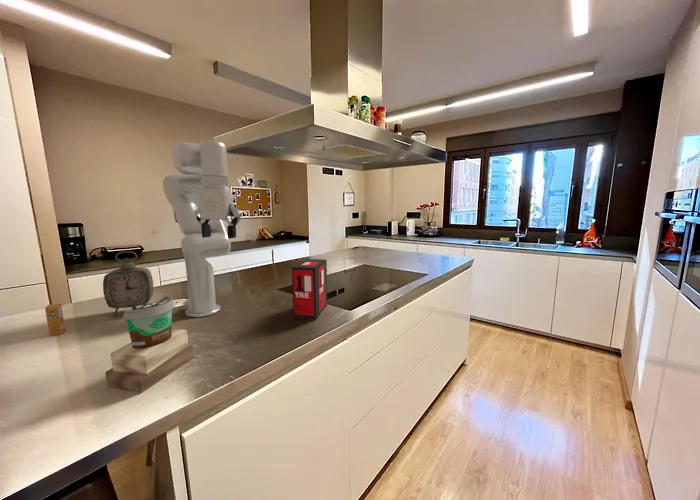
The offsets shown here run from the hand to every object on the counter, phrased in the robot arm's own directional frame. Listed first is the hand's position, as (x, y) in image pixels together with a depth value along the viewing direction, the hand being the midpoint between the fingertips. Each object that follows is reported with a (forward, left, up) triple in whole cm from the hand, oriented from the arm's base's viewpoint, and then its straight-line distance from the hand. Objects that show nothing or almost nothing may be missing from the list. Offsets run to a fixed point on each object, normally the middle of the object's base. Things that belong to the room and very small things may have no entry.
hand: (219, 237), depth 93 cm
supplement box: (-54, -16, -32) cm, 65 cm away
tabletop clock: (-49, +6, -32) cm, 59 cm away
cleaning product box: (+20, +26, -33) cm, 46 cm away
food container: (0, -24, -24) cm, 34 cm away
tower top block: (-2, -24, -28) cm, 38 cm away
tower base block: (-2, -24, -33) cm, 41 cm away
